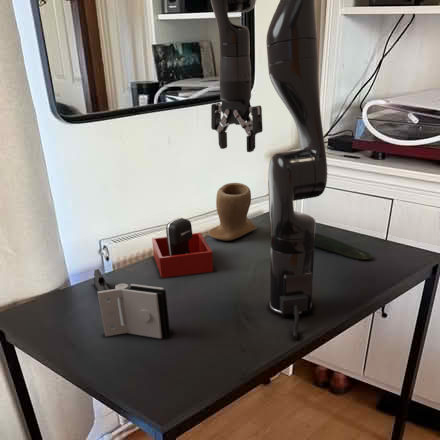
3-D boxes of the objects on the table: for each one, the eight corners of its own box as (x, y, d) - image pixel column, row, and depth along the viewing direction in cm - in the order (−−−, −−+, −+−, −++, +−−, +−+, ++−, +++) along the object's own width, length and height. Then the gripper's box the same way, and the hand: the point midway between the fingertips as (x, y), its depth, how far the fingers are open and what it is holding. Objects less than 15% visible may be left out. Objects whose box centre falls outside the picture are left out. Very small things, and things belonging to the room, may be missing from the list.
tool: (275, 244, 161) (275, 221, 158) (289, 237, 165) (289, 215, 161) (359, 266, 145) (361, 241, 142) (372, 259, 149) (375, 234, 145)
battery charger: (179, 268, 148) (175, 225, 142) (168, 265, 150) (164, 223, 144) (196, 259, 153) (193, 218, 146) (185, 257, 155) (182, 215, 148)
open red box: (213, 271, 146) (212, 251, 144) (161, 277, 144) (159, 258, 141) (201, 251, 159) (200, 232, 156) (153, 256, 157) (151, 238, 154)
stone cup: (232, 247, 161) (231, 193, 152) (203, 238, 168) (200, 186, 159) (266, 233, 169) (267, 181, 161) (237, 225, 176) (236, 175, 168)
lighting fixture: (122, 313, 129) (119, 296, 126) (111, 315, 128) (108, 298, 125) (105, 283, 143) (102, 267, 141) (94, 285, 142) (92, 269, 140)
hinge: (103, 336, 119) (96, 292, 114) (111, 325, 124) (104, 282, 118) (167, 339, 117) (162, 294, 112) (173, 327, 122) (168, 283, 116)
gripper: (202, 78, 136) (206, 150, 145) (250, 80, 129) (251, 155, 138) (221, 75, 141) (223, 144, 150) (268, 76, 133) (268, 149, 142)
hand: (236, 149), depth 144 cm, fingers open, 8 cm apart
